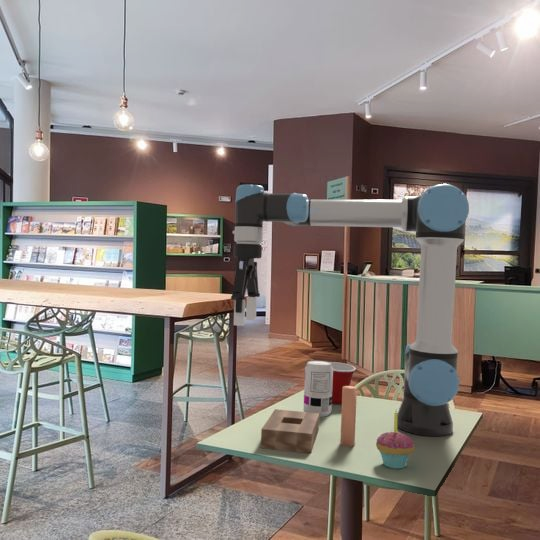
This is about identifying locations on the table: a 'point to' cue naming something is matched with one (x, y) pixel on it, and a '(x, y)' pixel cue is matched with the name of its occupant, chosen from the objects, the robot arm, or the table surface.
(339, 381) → the plastic cup
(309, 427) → the hole block
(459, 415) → the table surface
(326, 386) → the supplement can
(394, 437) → the cupcake
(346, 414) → the dowel pin
